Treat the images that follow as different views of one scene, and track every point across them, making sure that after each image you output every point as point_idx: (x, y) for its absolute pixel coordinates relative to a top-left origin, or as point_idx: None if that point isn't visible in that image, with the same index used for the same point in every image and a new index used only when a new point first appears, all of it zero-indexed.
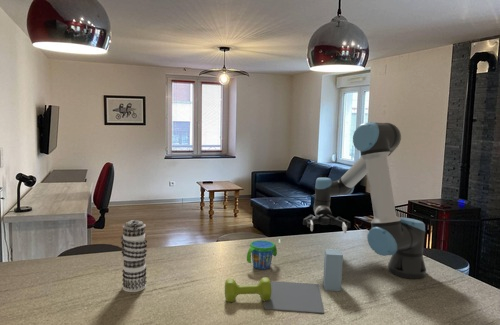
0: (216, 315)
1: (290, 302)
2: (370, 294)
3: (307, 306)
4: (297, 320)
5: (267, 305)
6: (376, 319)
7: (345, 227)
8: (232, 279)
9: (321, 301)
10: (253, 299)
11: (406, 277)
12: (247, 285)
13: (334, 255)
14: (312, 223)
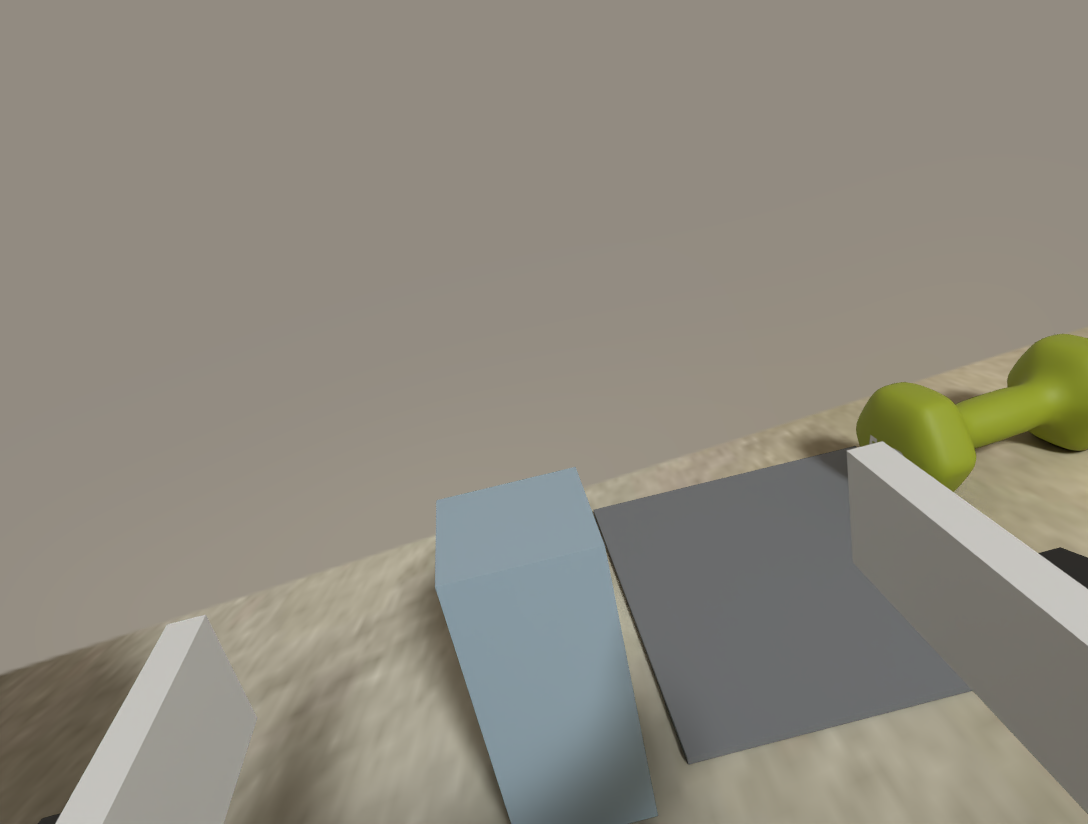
0: (991, 377)
1: (770, 511)
2: (301, 772)
3: (677, 516)
4: (689, 454)
5: None
6: (372, 560)
7: (198, 630)
8: (1077, 348)
9: (619, 570)
10: (967, 480)
11: None
12: (996, 395)
13: (509, 488)
14: (905, 489)
